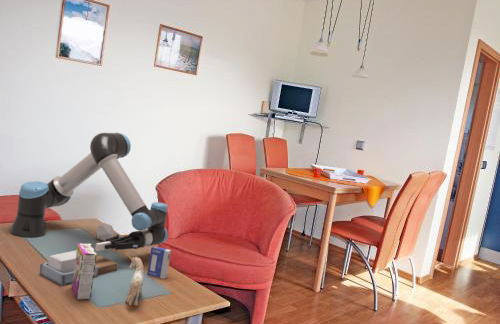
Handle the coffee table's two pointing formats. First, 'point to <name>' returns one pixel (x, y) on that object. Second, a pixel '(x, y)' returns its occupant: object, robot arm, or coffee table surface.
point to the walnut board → (105, 265)
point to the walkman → (159, 262)
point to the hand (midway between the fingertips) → (96, 247)
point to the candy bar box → (84, 271)
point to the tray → (59, 274)
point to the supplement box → (63, 262)
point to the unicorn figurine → (135, 280)
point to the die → (104, 232)
